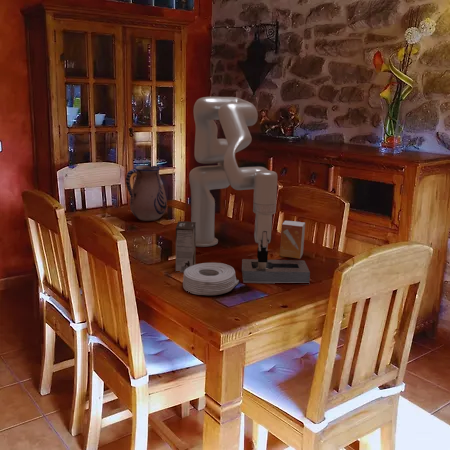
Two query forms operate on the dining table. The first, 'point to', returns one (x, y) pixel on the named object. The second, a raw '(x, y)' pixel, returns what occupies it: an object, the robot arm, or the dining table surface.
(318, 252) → the dining table surface
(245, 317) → the dining table surface
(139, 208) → the ceramic pitcher
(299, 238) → the small box
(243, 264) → the rail
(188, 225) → the coffee box
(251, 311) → the dining table surface
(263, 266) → the peg
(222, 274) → the cable
